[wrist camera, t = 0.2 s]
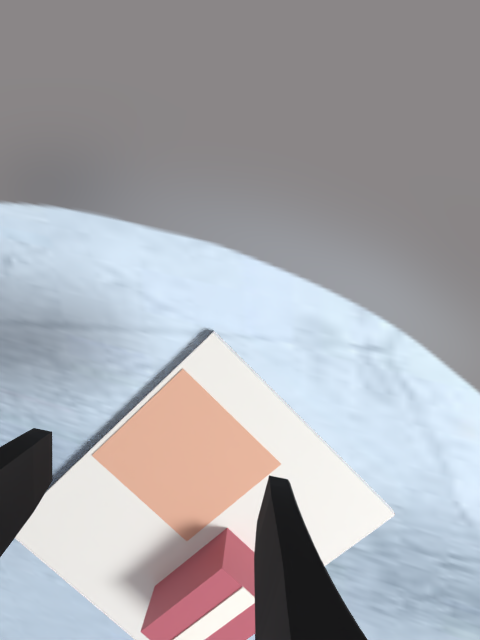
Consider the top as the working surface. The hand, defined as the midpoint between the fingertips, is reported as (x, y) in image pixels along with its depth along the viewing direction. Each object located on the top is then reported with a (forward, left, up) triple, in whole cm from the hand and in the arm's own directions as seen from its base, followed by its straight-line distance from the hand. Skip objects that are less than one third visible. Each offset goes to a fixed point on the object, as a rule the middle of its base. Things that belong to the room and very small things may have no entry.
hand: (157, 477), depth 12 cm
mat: (-8, -7, -10) cm, 15 cm away
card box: (-10, -11, -10) cm, 18 cm away
